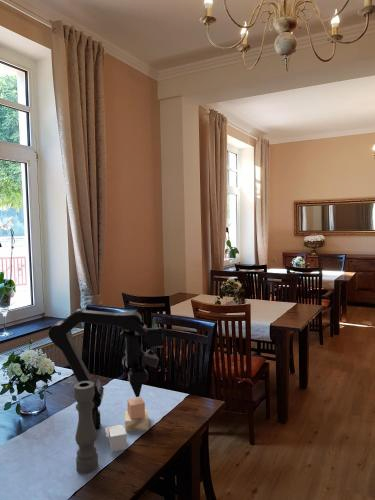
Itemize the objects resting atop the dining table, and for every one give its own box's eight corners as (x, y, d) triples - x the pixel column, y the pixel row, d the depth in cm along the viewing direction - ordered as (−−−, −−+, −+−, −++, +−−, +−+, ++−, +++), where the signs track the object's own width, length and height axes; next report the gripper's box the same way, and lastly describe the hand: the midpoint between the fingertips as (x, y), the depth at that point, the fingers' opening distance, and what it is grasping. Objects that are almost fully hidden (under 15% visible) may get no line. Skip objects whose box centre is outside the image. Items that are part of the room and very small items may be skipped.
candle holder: (87, 476, 112) (83, 391, 110) (71, 469, 115) (68, 386, 113) (102, 464, 117) (99, 383, 115) (87, 458, 120) (84, 378, 118)
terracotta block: (130, 419, 136) (130, 405, 135) (127, 412, 140) (127, 399, 140) (145, 416, 137) (144, 402, 137) (141, 410, 142) (141, 396, 142)
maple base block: (125, 432, 135) (125, 421, 135) (125, 420, 143) (125, 410, 142) (148, 430, 136) (148, 419, 136) (147, 418, 144) (147, 408, 144)
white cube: (111, 452, 123) (110, 436, 123) (109, 443, 128) (108, 428, 128) (127, 448, 125) (126, 433, 124) (124, 440, 130) (124, 425, 129)
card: (106, 437, 131) (106, 436, 131) (104, 428, 137) (104, 427, 137) (124, 434, 133) (124, 433, 133) (122, 425, 139) (122, 424, 139)
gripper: (162, 354, 131) (163, 399, 132) (151, 337, 149) (152, 377, 150) (129, 358, 128) (130, 404, 129) (121, 341, 145) (122, 382, 147)
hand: (135, 391), depth 139 cm, fingers open, 9 cm apart
